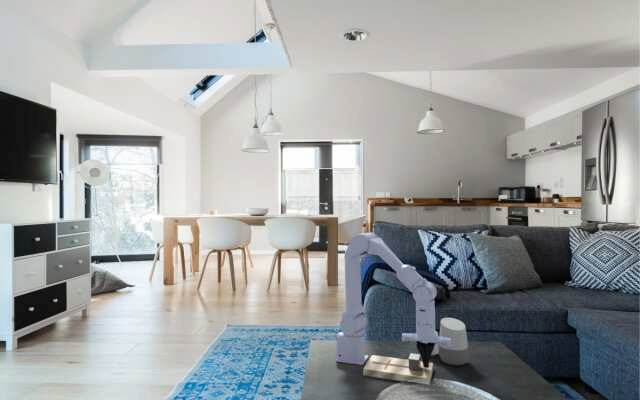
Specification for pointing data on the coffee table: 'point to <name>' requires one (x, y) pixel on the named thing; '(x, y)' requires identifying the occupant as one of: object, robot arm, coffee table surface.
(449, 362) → the smart speaker
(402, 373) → the console
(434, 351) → the eye dropper bottle
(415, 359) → the fader tab
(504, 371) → the coffee table surface
